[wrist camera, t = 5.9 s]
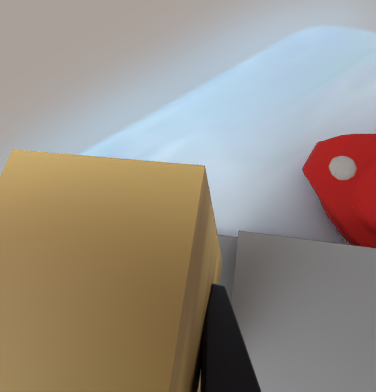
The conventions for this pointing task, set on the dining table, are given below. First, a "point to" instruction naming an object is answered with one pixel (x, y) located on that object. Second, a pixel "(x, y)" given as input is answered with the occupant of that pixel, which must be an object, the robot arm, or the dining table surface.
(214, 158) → the dining table surface
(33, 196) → the ochre block
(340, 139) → the tracker holder
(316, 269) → the slotted board
